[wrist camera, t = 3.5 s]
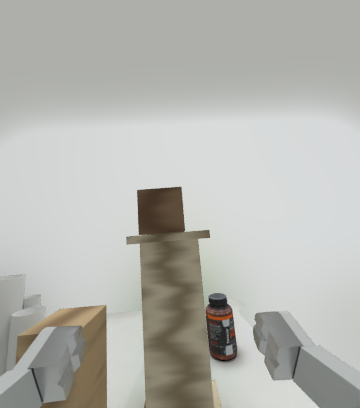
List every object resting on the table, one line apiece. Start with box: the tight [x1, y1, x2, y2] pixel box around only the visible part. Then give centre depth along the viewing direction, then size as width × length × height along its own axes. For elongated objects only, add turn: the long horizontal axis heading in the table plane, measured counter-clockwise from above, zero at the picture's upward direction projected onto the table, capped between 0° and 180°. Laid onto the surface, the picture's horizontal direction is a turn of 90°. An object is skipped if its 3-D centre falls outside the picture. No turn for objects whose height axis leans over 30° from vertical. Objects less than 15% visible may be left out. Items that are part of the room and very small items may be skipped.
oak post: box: [15, 305, 107, 408], centre depth 21 cm, size 7×7×16 cm
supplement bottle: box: [206, 293, 237, 360], centre depth 38 cm, size 6×6×11 cm
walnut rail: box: [137, 187, 185, 235], centre depth 25 cm, size 4×20×4 cm, turn 179°
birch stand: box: [126, 230, 222, 408], centre depth 25 cm, size 11×10×26 cm
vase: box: [0, 275, 45, 377], centre depth 32 cm, size 11×7×20 cm, turn 98°
